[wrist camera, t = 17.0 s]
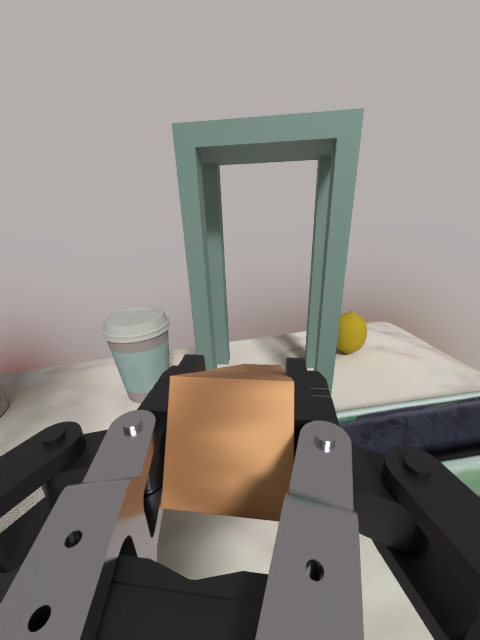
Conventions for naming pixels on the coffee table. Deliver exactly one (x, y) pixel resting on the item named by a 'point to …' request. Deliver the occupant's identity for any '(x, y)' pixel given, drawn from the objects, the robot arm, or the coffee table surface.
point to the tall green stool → (329, 219)
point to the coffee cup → (138, 347)
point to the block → (230, 441)
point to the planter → (424, 430)
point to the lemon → (351, 333)
